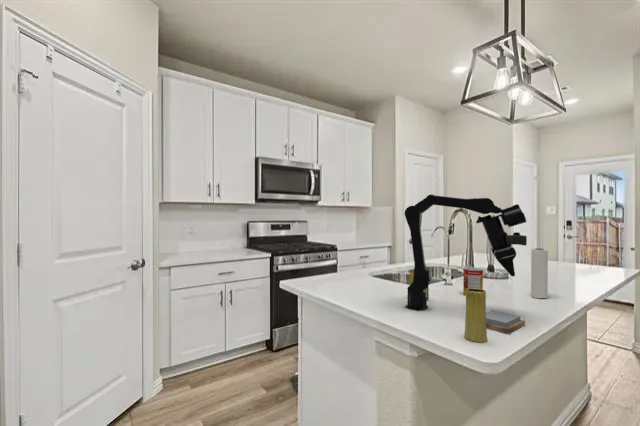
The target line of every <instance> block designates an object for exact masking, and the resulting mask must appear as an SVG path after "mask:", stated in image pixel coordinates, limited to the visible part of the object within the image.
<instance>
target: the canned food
mask: <svg viewBox="0 0 640 426" xmlns="http://www.w3.org/2000/svg"><path fill="white" fill-rule="evenodd" d="M483 273H484V269H483V268H480V267H474V266H473V267H472V266H469V267H463V293H462V294H463V296H465V297H466V289H468V288H477V289H482V290H484V289H483V288H484V285H483V284H484V281H483V280H484V274H483Z"/></svg>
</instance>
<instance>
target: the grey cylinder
mask: <svg viewBox="0 0 640 426" xmlns="http://www.w3.org/2000/svg"><path fill="white" fill-rule="evenodd" d="M548 252H549V250H548V249H546V248H537V247H535V248H531V253H530V254H531V256H530V257H531V258H530V260H531V261H530V262H531V264H530V265H531V269H530V274H531V275H530V276H531V277H530V278H531V279H530V280H531V282H530V295H531V296H530V297H532V298H534V299H540V298H546V299H548V297H549V296H548V290H549V289H548V287H549V286H548V285H549V284H548V280H549V278H548V275H549V274H548V271H549V269H548V268H549V267H548V265H549V264H548V263H549V262H548V261H549V260H548V259H549V258H548V257H549V255H548V254H549V253H548Z"/></svg>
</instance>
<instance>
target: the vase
mask: <svg viewBox="0 0 640 426" xmlns="http://www.w3.org/2000/svg"><path fill="white" fill-rule="evenodd" d="M486 292H487V291H486V290H484V289H483V290H482V289H477V288H468V289H466V296H465V319H464V322H465V324H464V334H463V338H465V339H466V341H469V342H474V343H485V342H487V341H488V336H487V333H488V332H487V331H488V329H487V328H486V312H487V305H486V304H487V303H486V302H487V300H486V299H487V293H486Z"/></svg>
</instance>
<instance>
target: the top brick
mask: <svg viewBox="0 0 640 426" xmlns="http://www.w3.org/2000/svg"><path fill="white" fill-rule="evenodd" d="M520 320H521V316H520V315H517V314H513V313H508V312H503V311H499V310H495V309H494V310H493V309H491V310H489V311H486V323H489V324H493V325H497V326H501V327H505V328H507V327H509V326H511V325H513V324H515V323H517V322H519V321H520Z"/></svg>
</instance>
